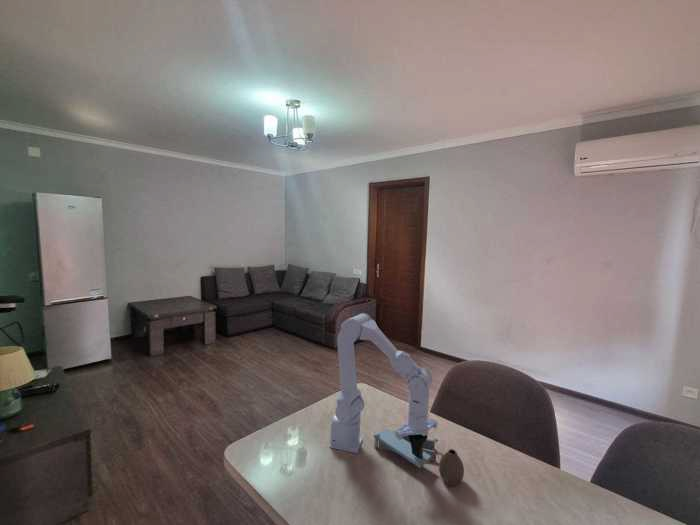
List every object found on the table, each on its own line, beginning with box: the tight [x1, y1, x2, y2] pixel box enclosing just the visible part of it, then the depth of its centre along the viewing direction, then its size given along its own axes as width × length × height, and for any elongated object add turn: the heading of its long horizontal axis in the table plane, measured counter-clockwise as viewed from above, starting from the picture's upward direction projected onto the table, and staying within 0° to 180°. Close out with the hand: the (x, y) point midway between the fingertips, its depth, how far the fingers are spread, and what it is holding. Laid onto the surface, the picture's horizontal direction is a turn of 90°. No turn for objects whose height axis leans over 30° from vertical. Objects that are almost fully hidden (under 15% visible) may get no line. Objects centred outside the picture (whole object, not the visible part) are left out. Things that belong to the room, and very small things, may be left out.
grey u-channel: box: [374, 431, 439, 461], centre depth 105 cm, size 20×6×4 cm, turn 75°
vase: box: [438, 448, 465, 487], centre depth 91 cm, size 7×7×9 cm
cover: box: [373, 427, 432, 469], centre depth 100 cm, size 18×6×4 cm, turn 43°
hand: (415, 454), depth 95 cm, fingers closed
